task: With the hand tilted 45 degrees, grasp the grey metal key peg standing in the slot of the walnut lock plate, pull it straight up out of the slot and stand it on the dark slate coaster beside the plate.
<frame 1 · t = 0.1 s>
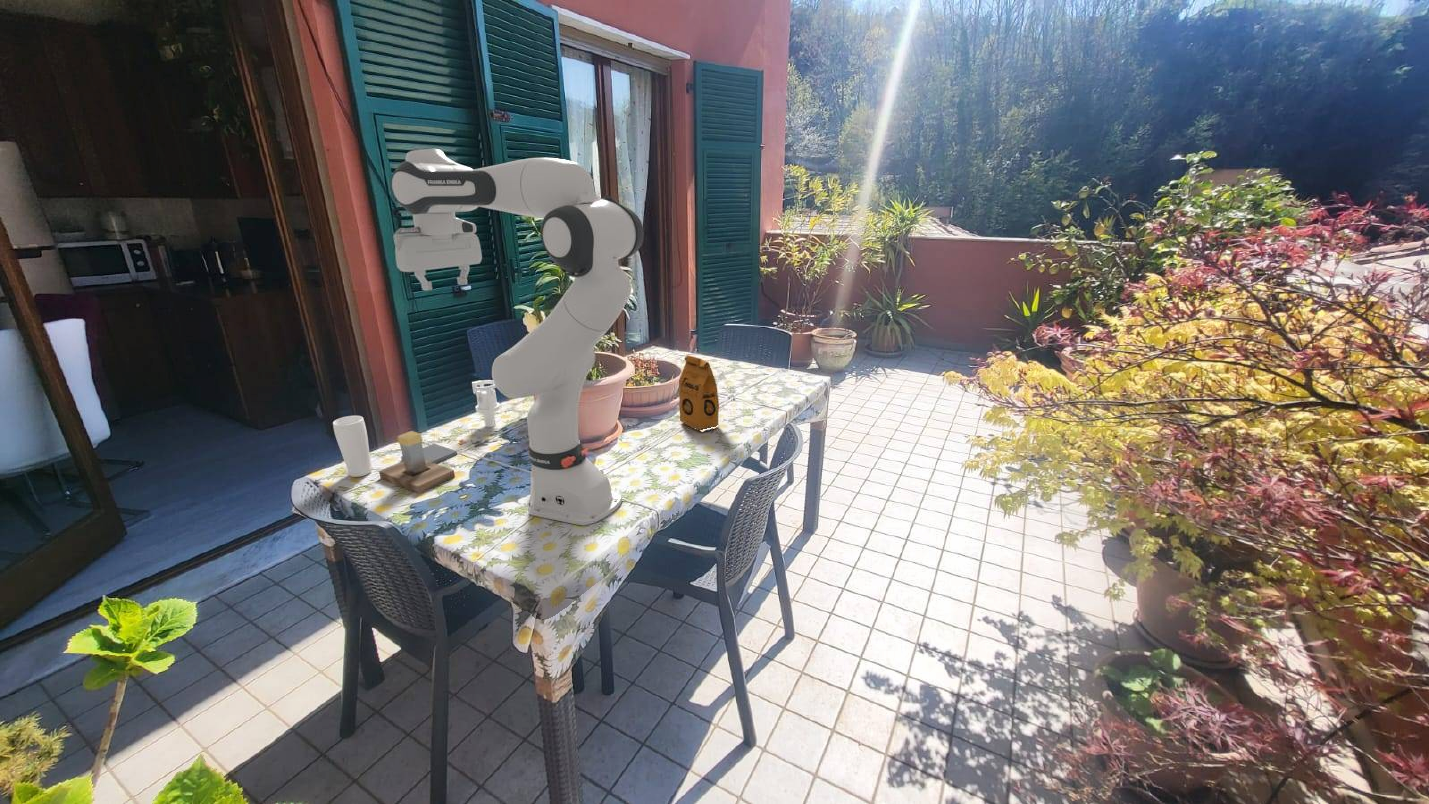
hand: (445, 287, 134), 48 cm above the table, tool pointing down, fingers open, 8 cm apart
key peg: (413, 456, 144), in the lock plate
coaster: (429, 457, 157), on the table
coffee package: (699, 426, 179), on the table
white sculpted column: (490, 425, 179), on the table
drinking glass: (361, 473, 148), on the table
lock plate: (417, 477, 146), on the table
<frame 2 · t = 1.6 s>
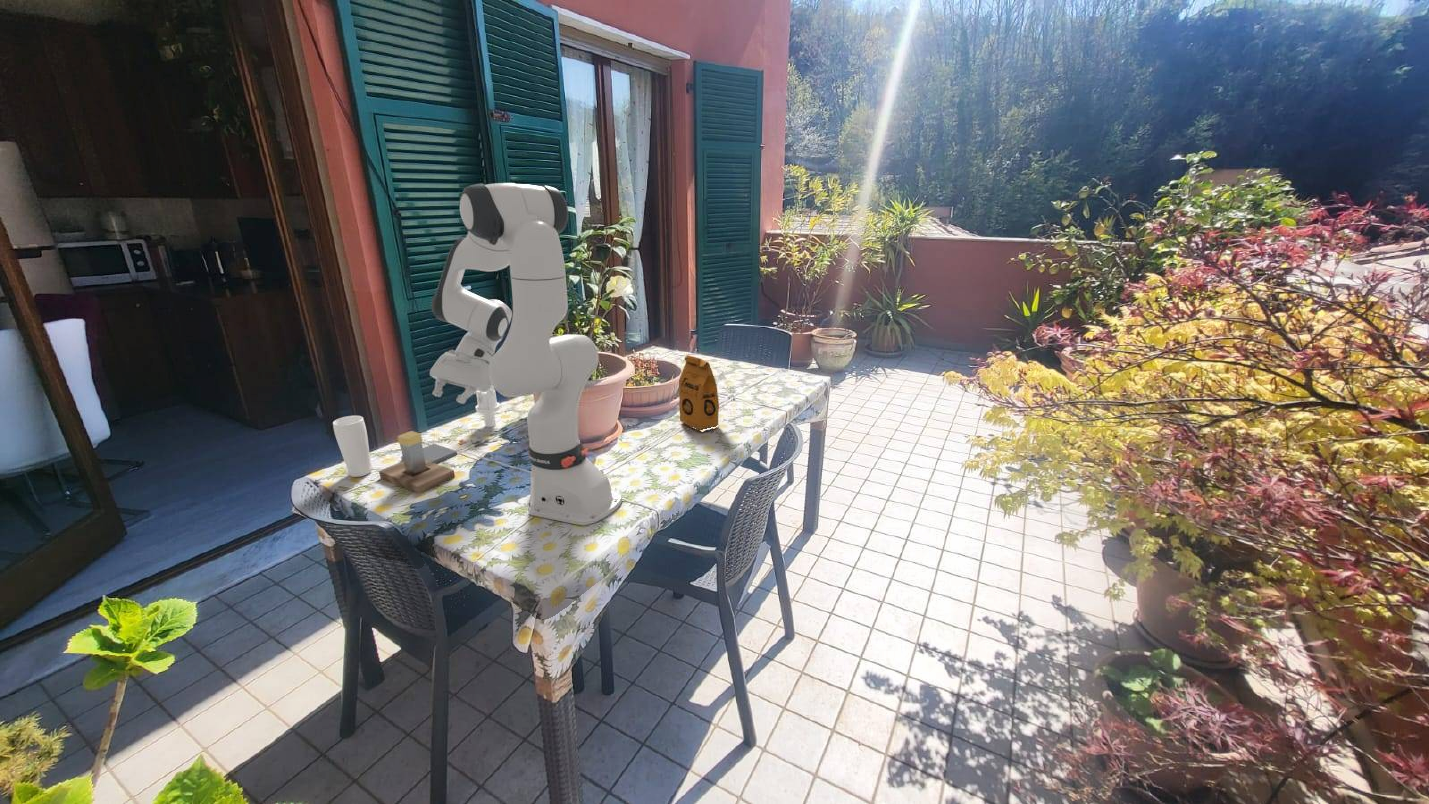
hand: (447, 399, 150), 18 cm above the table, tool tilted 45°, fingers open, 8 cm apart
nothing on the table moved.
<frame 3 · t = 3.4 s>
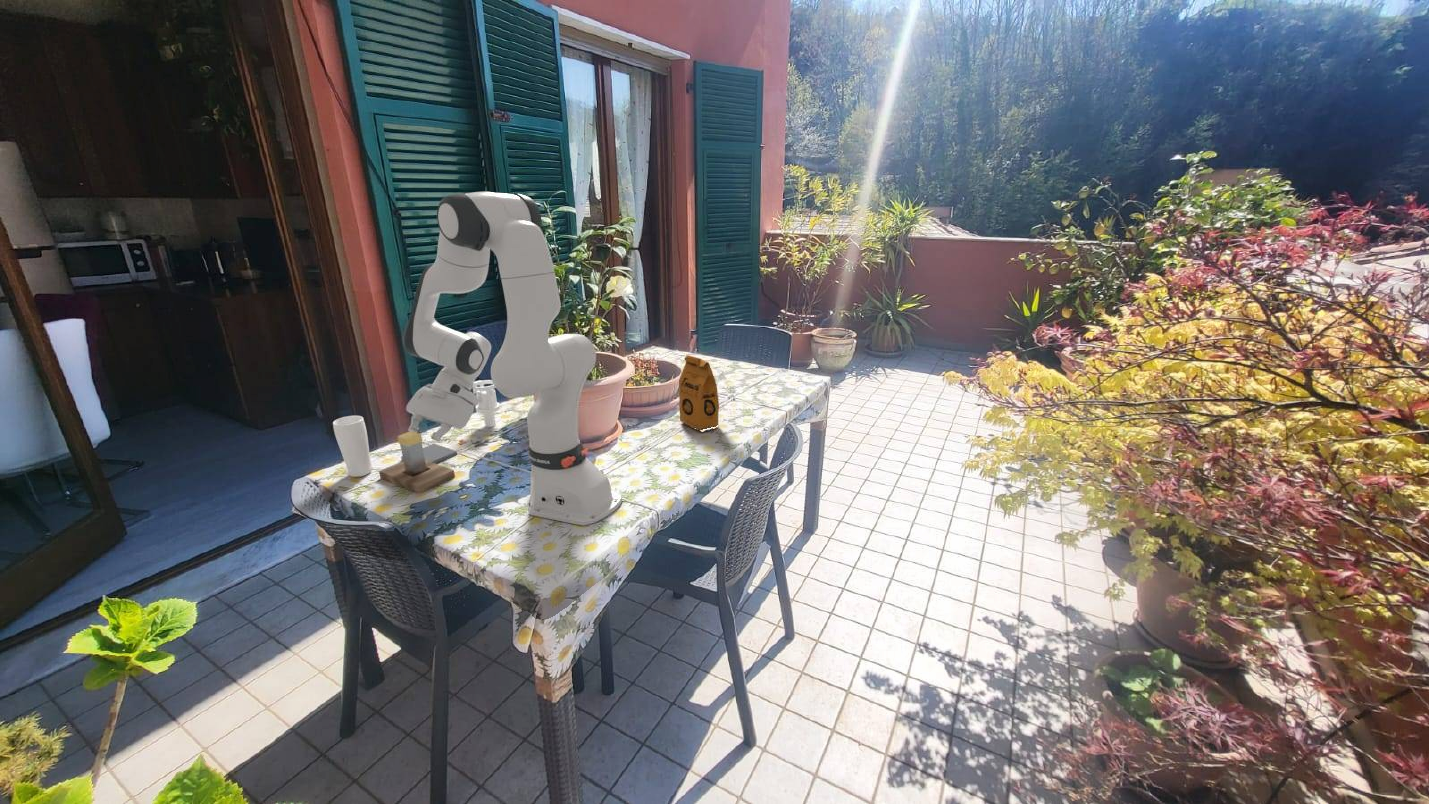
hand: (423, 436, 146), 10 cm above the table, tool tilted 45°, fingers open, 8 cm apart
nothing on the table moved.
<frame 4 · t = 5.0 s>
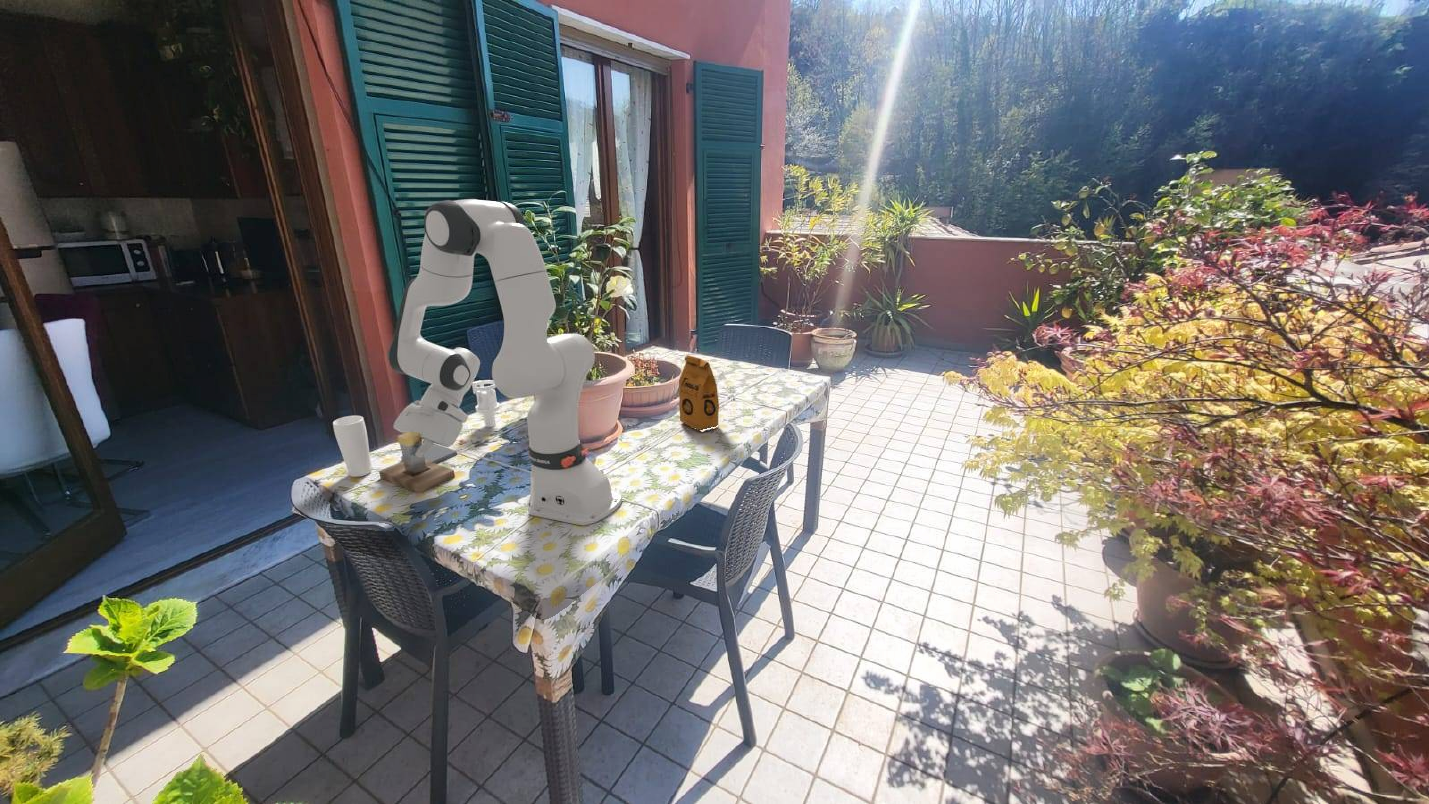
hand: (410, 454, 143), 7 cm above the table, tool tilted 45°, fingers closed on key peg, 3 cm apart
key peg: (413, 456, 144), in the lock plate, touching gripper
everything else where it was.
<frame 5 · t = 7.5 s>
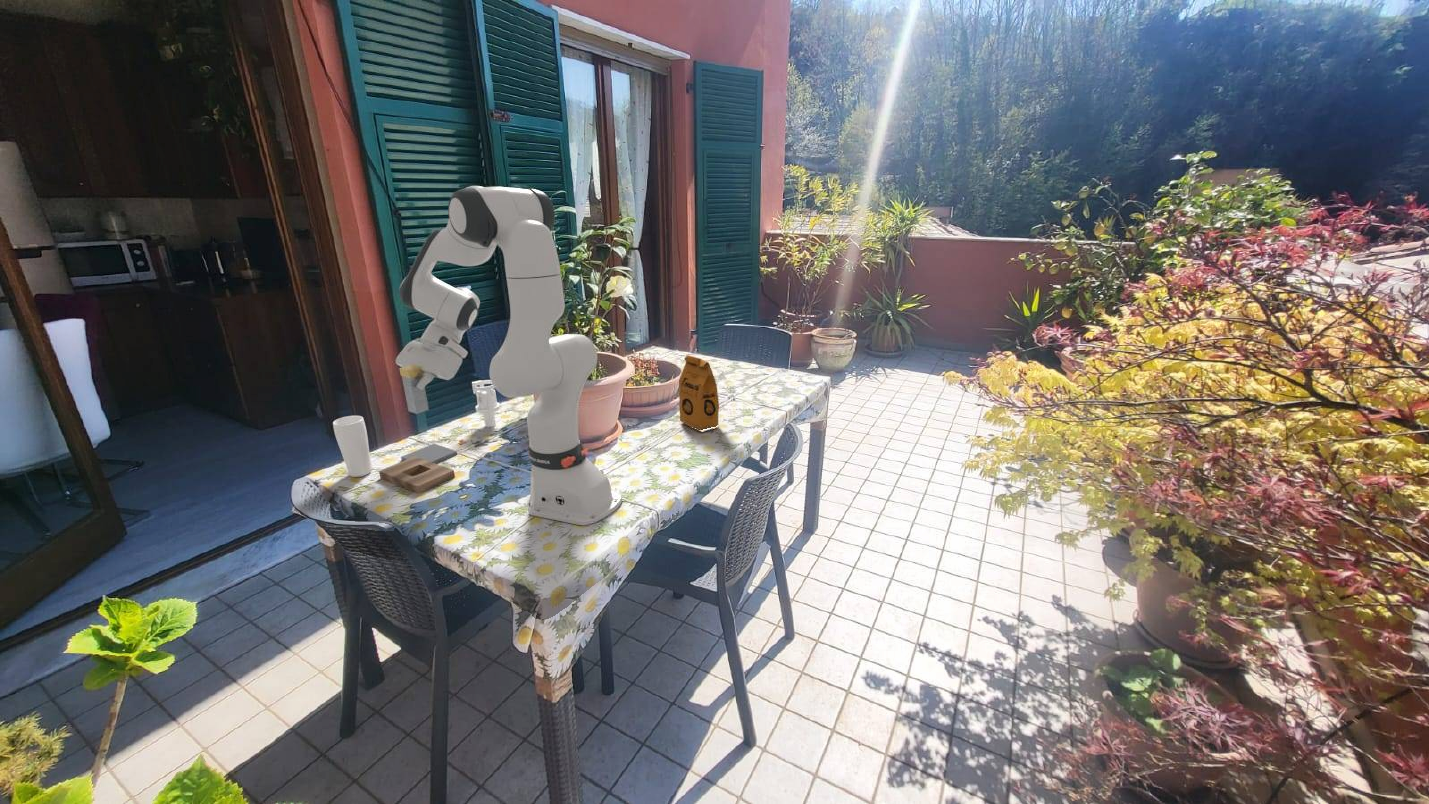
hand: (412, 386, 149), 21 cm above the table, tool tilted 45°, fingers closed on key peg, 3 cm apart
key peg: (414, 389, 150), point 20 cm above the table, touching gripper
everything else where it was.
when the fingers open (9 cm above the table, at t = 10.1 s): key peg stays where it is, resting on coaster.
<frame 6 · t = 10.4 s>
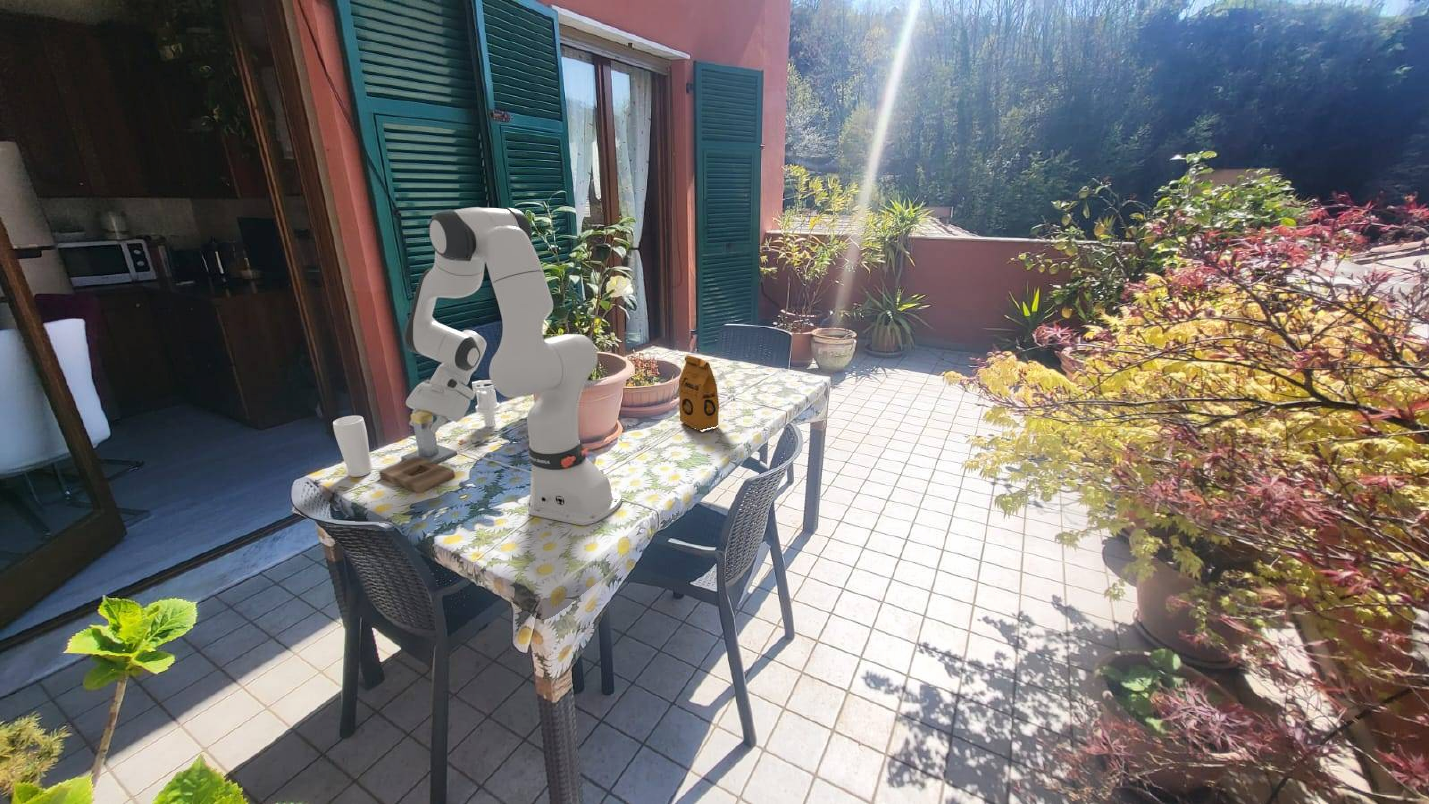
hand: (421, 428, 154), 9 cm above the table, tool tilted 45°, fingers open, 7 cm apart
key peg: (425, 434, 155), on the coaster, point 7 cm above the table
everything else where it was.
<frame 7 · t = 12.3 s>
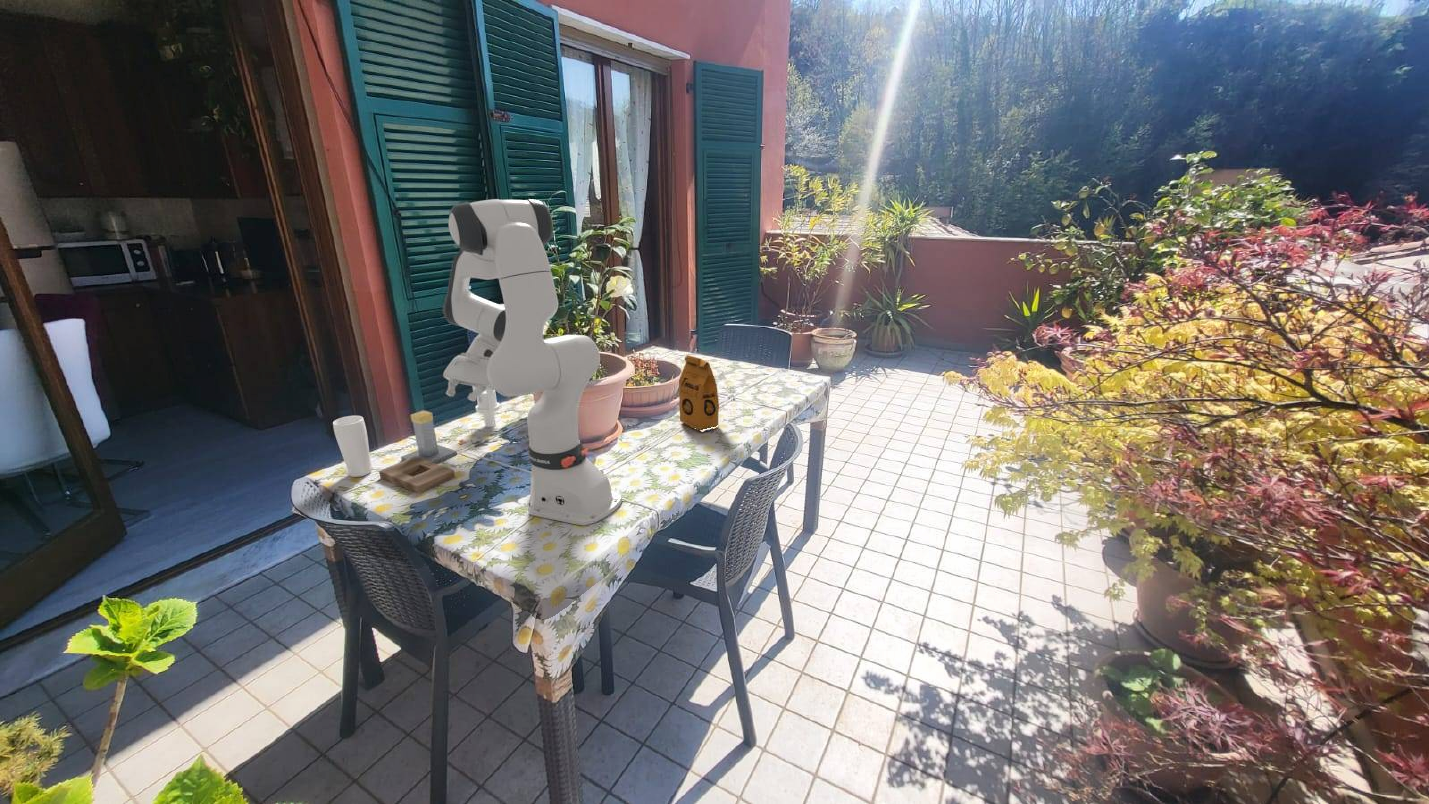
hand: (459, 397, 160), 15 cm above the table, tool tilted 45°, fingers open, 8 cm apart
nothing on the table moved.
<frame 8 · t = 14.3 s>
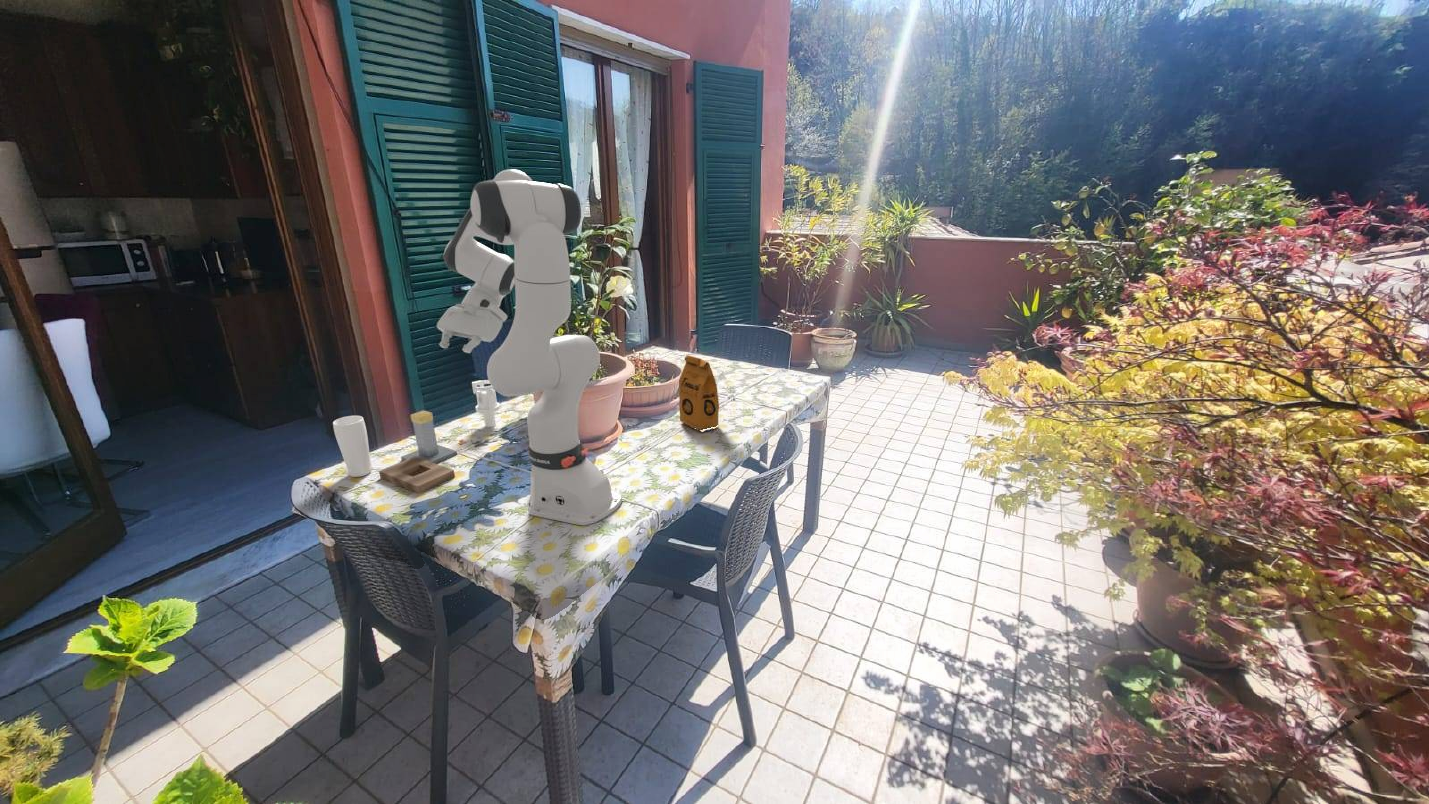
hand: (454, 349, 152), 29 cm above the table, tool tilted 45°, fingers open, 8 cm apart
nothing on the table moved.
at the end: key peg inside the target area on the coaster (0.1 cm from its centre), point 7.0 cm above the coaster's base; key peg tilted 0°; the gripper is holding nothing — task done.
